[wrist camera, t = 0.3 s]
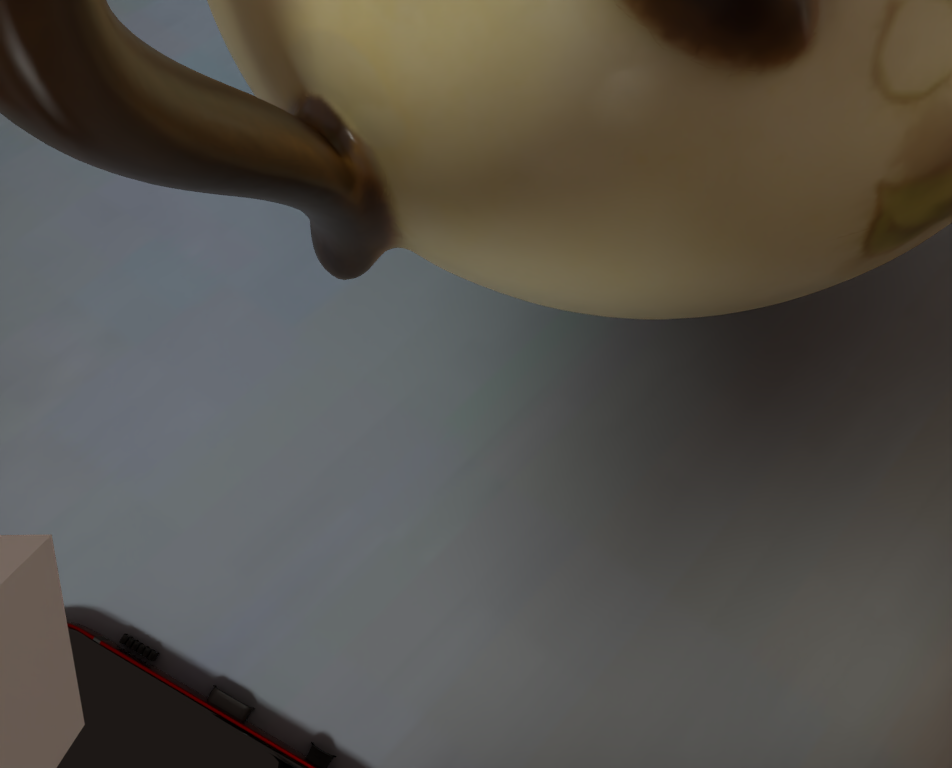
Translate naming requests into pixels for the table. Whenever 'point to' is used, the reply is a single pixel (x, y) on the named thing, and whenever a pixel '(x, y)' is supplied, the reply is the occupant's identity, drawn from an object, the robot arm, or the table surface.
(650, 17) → the pitcher
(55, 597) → the robot arm
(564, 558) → the table surface
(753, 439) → the table surface
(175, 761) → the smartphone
